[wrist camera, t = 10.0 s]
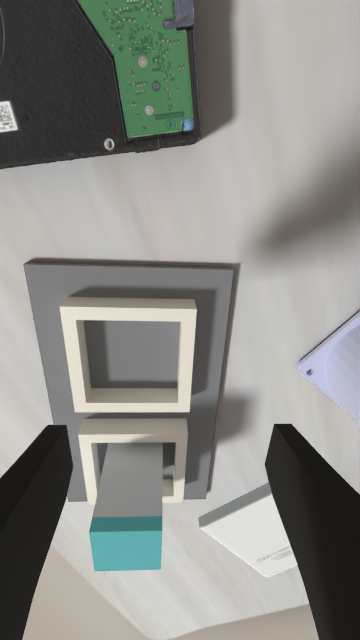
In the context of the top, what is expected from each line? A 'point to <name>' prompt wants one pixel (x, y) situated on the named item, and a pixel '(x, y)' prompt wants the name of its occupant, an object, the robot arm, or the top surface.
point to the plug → (129, 508)
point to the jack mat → (135, 351)
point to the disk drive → (96, 78)
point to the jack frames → (129, 398)
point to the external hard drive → (252, 531)
